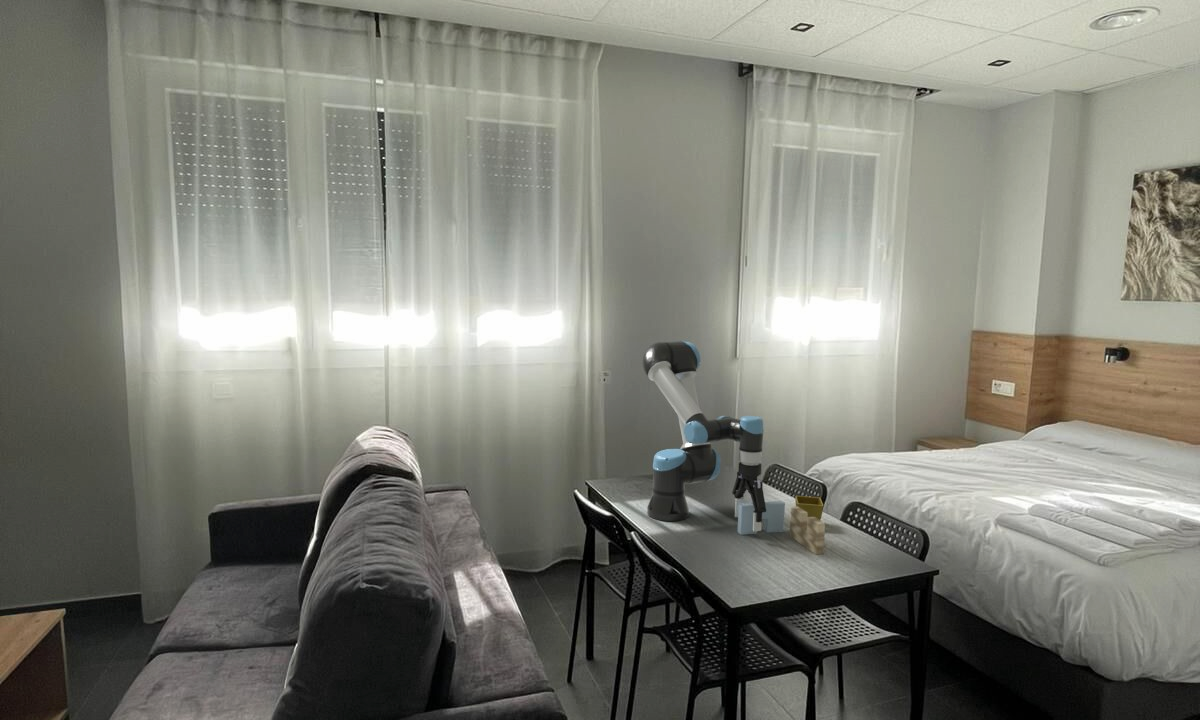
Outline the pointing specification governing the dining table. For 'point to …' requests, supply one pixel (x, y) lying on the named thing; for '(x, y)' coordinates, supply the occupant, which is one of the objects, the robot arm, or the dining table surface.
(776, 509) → the pale blue upright slab
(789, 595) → the dining table surface
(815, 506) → the flower pot
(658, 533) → the dining table surface
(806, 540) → the tan wooden block
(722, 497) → the dining table surface
